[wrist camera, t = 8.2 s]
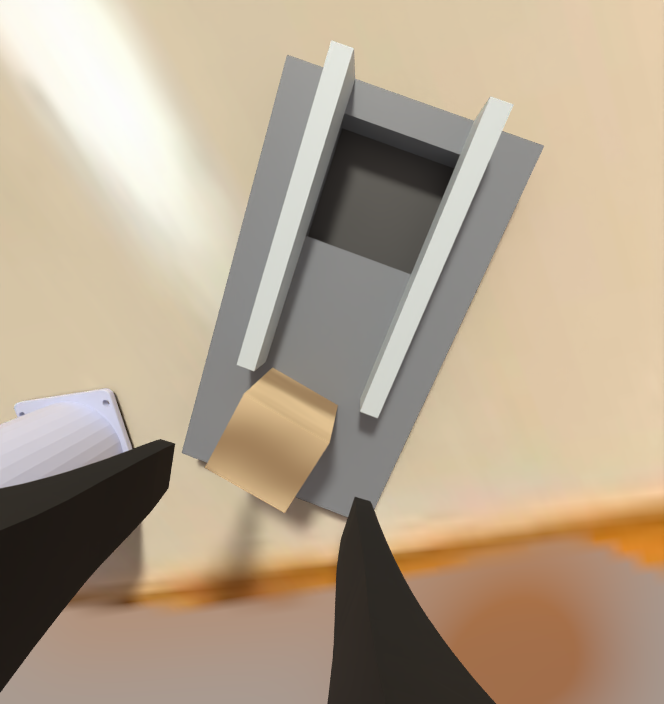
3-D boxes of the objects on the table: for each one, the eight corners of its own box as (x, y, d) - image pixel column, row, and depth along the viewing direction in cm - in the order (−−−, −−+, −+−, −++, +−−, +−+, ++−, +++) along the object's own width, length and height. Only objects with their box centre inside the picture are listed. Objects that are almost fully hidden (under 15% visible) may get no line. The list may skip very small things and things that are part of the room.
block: (272, 367, 18) (243, 393, 14) (338, 405, 19) (329, 443, 14) (240, 426, 20) (204, 467, 15) (302, 461, 20) (284, 513, 15)
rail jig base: (296, 80, 17) (275, 20, 13) (523, 161, 17) (571, 125, 13) (197, 438, 22) (162, 471, 18) (366, 503, 22) (367, 550, 18)
